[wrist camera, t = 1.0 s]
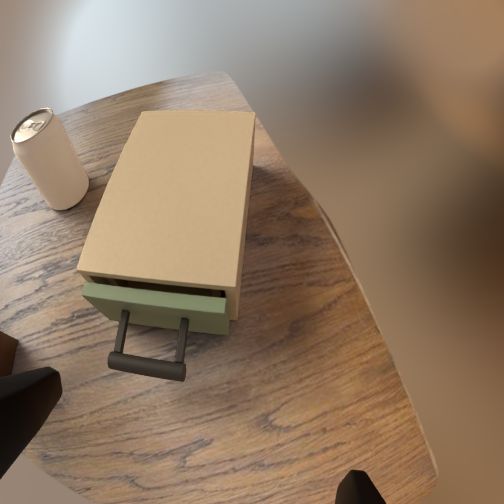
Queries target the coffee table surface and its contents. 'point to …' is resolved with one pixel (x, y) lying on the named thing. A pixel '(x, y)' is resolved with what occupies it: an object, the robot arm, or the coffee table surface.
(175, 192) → the cabinet
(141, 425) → the coffee table surface
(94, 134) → the coffee table surface
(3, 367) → the brown cube
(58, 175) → the can
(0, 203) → the coffee table surface
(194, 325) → the drawer
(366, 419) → the coffee table surface
